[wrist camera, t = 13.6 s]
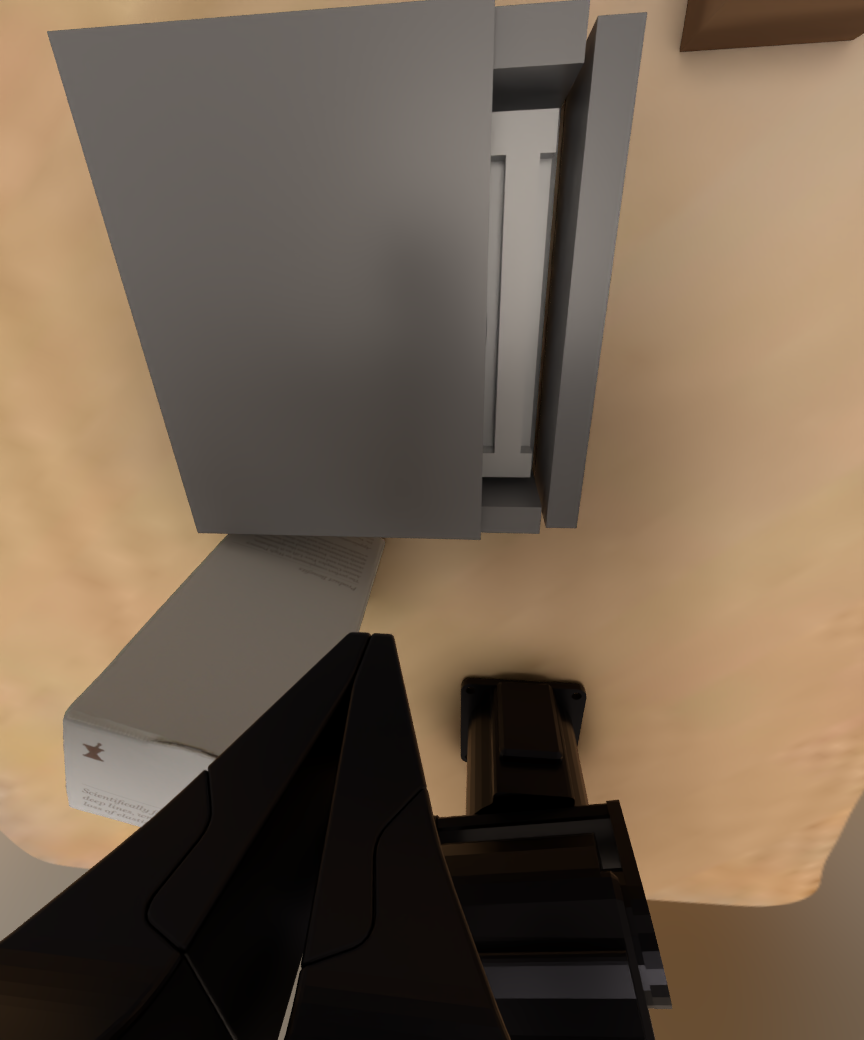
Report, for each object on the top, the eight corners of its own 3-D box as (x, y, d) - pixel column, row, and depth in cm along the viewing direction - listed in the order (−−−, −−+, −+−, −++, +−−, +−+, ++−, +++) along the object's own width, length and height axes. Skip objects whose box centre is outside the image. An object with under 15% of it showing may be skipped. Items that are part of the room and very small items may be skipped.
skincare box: (248, 563, 23) (51, 816, 12) (264, 486, 21) (43, 712, 10) (367, 604, 24) (275, 880, 13) (394, 533, 22) (311, 794, 11)
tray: (565, 480, 19) (584, 528, 16) (278, 477, 20) (237, 520, 17) (612, 78, 13) (659, 11, 10) (206, 104, 14) (119, 52, 11)
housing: (528, 484, 20) (540, 541, 16) (253, 480, 21) (197, 532, 17) (560, 71, 14) (595, -14, 9) (168, 97, 15) (46, 31, 11)
